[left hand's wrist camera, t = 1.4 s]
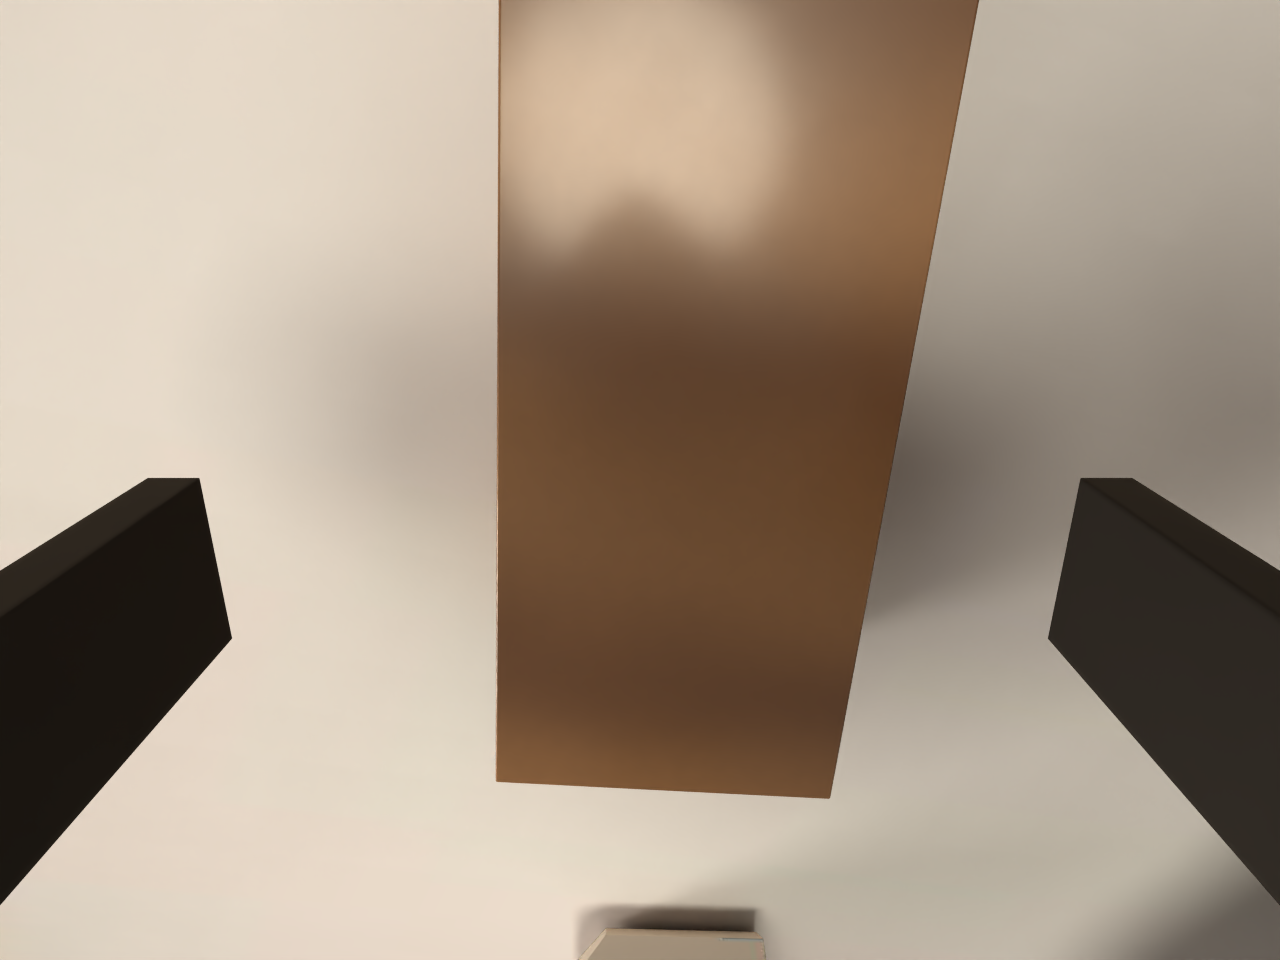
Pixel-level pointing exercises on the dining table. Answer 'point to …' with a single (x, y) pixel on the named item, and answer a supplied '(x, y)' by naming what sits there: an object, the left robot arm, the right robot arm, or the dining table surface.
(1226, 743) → the left robot arm
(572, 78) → the wide beam
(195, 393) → the dining table surface
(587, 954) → the electronic device
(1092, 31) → the dining table surface
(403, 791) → the dining table surface
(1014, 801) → the dining table surface
